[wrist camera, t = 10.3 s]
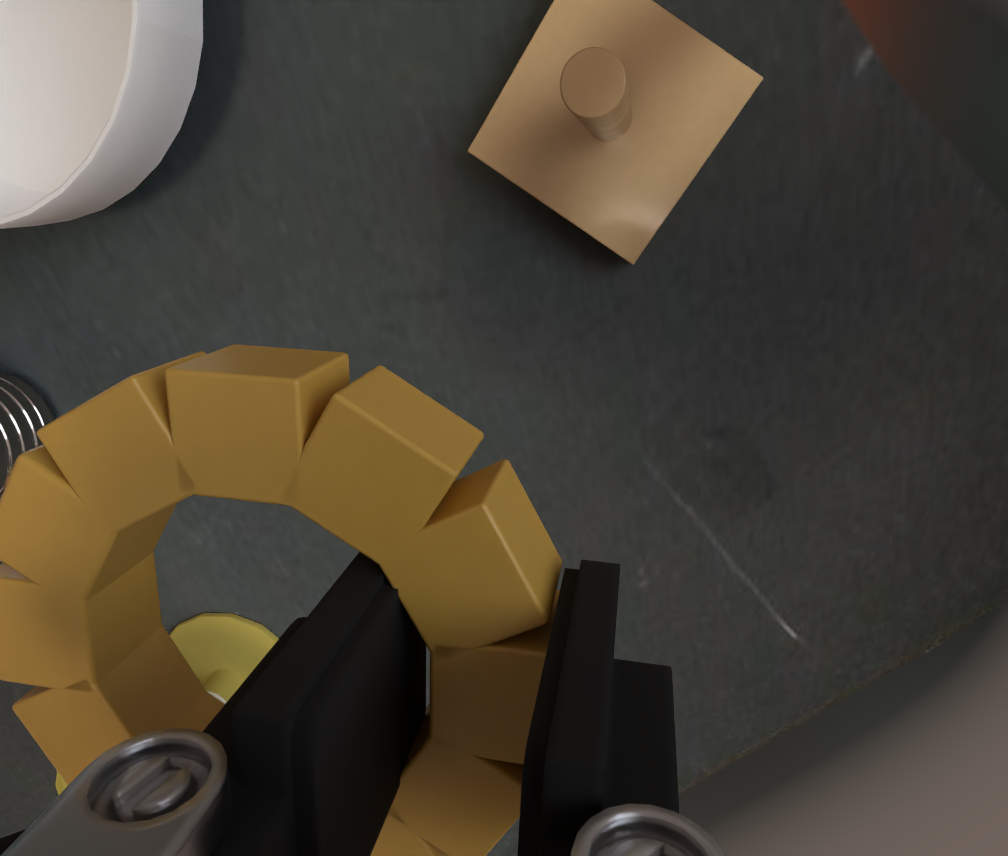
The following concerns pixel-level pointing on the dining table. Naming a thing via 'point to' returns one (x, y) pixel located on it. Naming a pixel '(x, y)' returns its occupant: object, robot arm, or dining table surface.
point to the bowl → (89, 100)
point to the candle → (218, 653)
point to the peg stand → (613, 116)
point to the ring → (322, 498)
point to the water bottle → (19, 421)
